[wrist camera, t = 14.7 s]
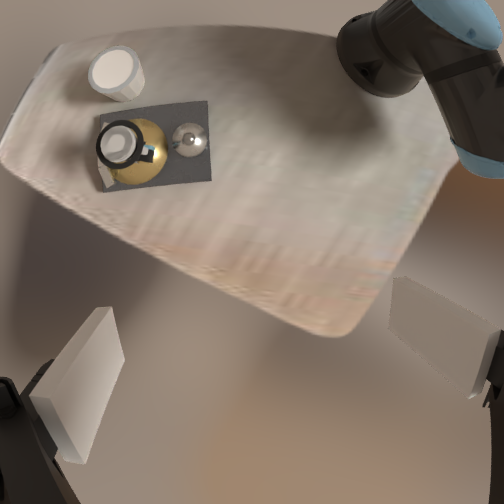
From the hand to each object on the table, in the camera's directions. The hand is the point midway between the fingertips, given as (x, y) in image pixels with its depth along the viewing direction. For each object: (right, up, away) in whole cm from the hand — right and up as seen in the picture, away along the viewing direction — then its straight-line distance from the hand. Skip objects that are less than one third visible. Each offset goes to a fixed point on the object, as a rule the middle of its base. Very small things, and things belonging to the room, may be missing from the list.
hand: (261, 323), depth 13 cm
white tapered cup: (-18, +27, +24) cm, 40 cm away
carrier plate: (-14, +17, +26) cm, 34 cm away
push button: (-16, +16, +24) cm, 33 cm away
